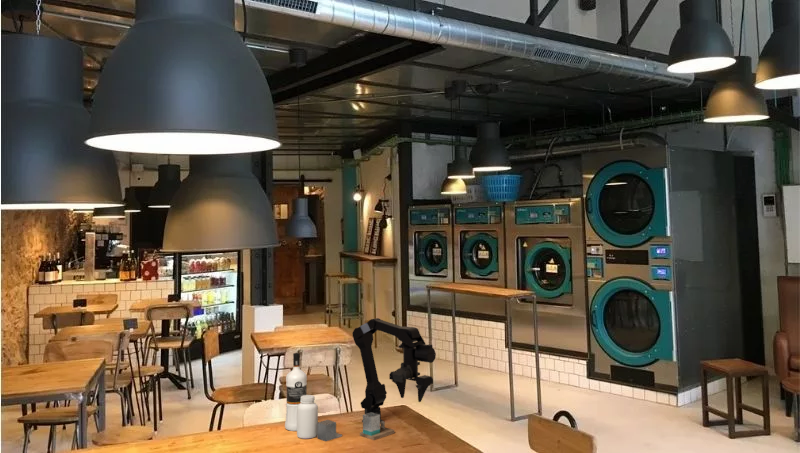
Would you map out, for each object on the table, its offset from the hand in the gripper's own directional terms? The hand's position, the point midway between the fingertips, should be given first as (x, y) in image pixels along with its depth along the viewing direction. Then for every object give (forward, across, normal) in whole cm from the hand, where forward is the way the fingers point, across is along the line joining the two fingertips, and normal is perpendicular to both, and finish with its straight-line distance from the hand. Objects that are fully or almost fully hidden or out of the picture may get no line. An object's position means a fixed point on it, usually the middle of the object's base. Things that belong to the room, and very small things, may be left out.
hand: (411, 399), depth 223 cm
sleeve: (+11, -7, -15) cm, 20 cm away
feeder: (+12, -18, -27) cm, 34 cm away
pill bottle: (+12, -26, -31) cm, 42 cm away
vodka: (+12, -37, -28) cm, 48 cm away
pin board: (+12, -7, -12) cm, 18 cm away
